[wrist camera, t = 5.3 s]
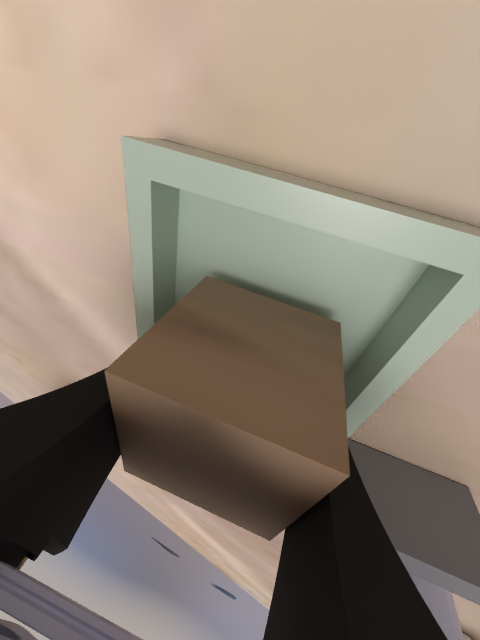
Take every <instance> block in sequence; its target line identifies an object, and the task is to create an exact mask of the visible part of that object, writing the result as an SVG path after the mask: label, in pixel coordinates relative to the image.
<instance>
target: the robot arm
mask: <svg viewBox="0 0 480 640" xmlns="http://www.w3.org/2000/svg"><path fill="white" fill-rule="evenodd" d="M106 369H107V368H106ZM106 369H104V370H102V371H99V372H97V373H95V374H93V375H91V376H89V377H86V378H84V379H82V380H79V381H77V382H75V383H72V384H70V385H67V386H65V387H62V388H60V389H57V390H54V391H52V392H49V393H46V394H44V395H41V396H38V397H35V398H32V399H29V400H26V401H23V402H20V403H16V404H13V405H10V406H7V407H4V408H1V409H0V610H1V611H3V612H5V613H7V614H8V615H10V616H12V617H13V618H15V619H17V620H18V621H20V622H22V623H23V624H25V625H27V626H28V627H30V628H32V629H34V630H35V631H37V632H38V633H40V634H42V635H44V636H45V637H47V638H49V639H50V640H142V639H141V638H139V637H137V636H135V635H133V634H131V633H130V632H128V631H127V630H125V629H123V628H121V627H119V626H118V625H116V624H114V623H112V622H110V621H109V620H107V619H105V618H104V617H102V616H100V615H98V614H96V613H95V612H93V611H91V610H89V609H87V608H86V607H84V606H82V605H80V604H78V603H77V602H75V601H73V600H72V599H70V598H68V597H66V596H64V595H63V594H61V593H59V592H57V591H55V590H53V589H52V588H50V587H48V586H47V585H45V584H43V583H41V582H40V581H38V580H36V579H34V578H33V577H31V576H29V575H27V574H25V573H24V572H22V571H20V570H18V569H17V567H18V565H19V564H20V563H21V561H22V560H23V559H24V557H27V558H29V559H31V560H33V561H35V560H36V559H37V557H38V556H39V555H40V553H41V552H42V550H44V551H46V552H48V553H50V554H52V555H56V554H58V553H60V552H62V551H64V550H65V549H67V548H68V546H69V544H70V543H71V541H72V539H73V537H74V535H75V533H76V531H77V530H78V528H79V526H80V524H81V522H82V520H83V519H84V517H85V515H86V513H87V511H88V509H89V508H90V506H91V504H92V502H93V501H94V499H95V497H96V495H97V494H98V492H99V490H100V488H101V486H102V485H103V483H104V482H105V480H106V478H107V476H108V475H109V473H110V471H111V470H112V468H113V466H114V465H115V463H116V461H117V460H118V458H119V457H120V455H121V451H120V446H119V441H118V436H117V431H116V426H115V421H114V417H113V412H112V407H111V402H110V397H109V392H108V387H107V382H106V377H105V372H104V371H105V370H106ZM348 453H349V469H350V476H349V477H348V478H347V479H346V480H344V481H343V482H342V483H341V484H339V485H338V486H337V487H336V488H334V489H333V490H332V491H331V492H330V493H328V494H327V495H326V496H325V497H323V498H322V499H321V500H320V501H318V502H317V503H316V504H315V505H314V506H312V507H311V508H310V509H309V510H307V511H306V512H305V513H304V514H302V515H301V516H300V517H299V518H297V519H296V520H295V521H294V522H293V523H291V524H290V525H289V526H288V527H286V528H285V534H284V540H283V545H282V550H281V556H280V561H279V567H278V572H277V577H276V582H275V587H274V592H273V597H272V602H271V606H270V611H269V616H268V620H267V625H266V629H265V634H264V638H263V640H464V636H463V633H462V629H461V625H460V622H459V618H458V615H457V611H456V607H455V604H454V600H453V596H452V593H451V592H450V591H448V590H446V589H443V588H441V587H439V586H437V585H435V584H432V583H430V582H428V581H426V580H424V579H421V578H419V577H417V576H415V575H413V574H411V573H408V571H407V569H406V567H405V566H404V564H403V562H402V560H401V559H400V557H399V555H398V553H397V551H396V550H395V548H394V546H393V544H392V542H391V540H390V538H389V536H388V534H387V532H386V530H385V528H384V526H383V524H382V522H381V520H380V518H379V516H378V514H377V512H376V510H375V508H374V506H373V504H372V502H371V499H370V497H369V495H368V493H367V491H366V488H365V486H364V484H363V481H362V479H361V477H360V474H359V472H358V469H357V467H356V464H355V462H354V459H353V457H352V454H351V451H350V448H349V446H348ZM0 640H37V639H36V638H35V637H34V636H33V635H32V634H30V633H29V632H28V631H27V630H26V629H25V628H23V627H22V626H20V625H18V624H16V623H13V622H10V621H6V620H2V619H0Z"/></svg>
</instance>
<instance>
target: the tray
mask: <svg viewBox="0 0 480 640" xmlns="http://www.w3.org/2000/svg"><path fill="white" fill-rule="evenodd" d="M122 149H123V161H124V174H125V186H126V199H127V211H128V223H129V236H130V248H131V261H132V273H133V286H134V298H135V310H136V323H137V335H138V339H139V338H140V337H141V336H142V335H143V334H144V333H146V332H147V331H148V330H149V329H150V328H151V327H152V326H153V325H154V324H155V323H156V322H157V321H158V320H159V319H161V318H162V317H163V316H164V315H165V314H166V313H167V312H168V311H169V310H170V309H171V308H172V307H173V306H175V305H176V304H177V303H178V302H179V301H180V300H181V299H182V298H183V297H184V296H185V295H186V294H187V293H189V292H190V291H191V290H192V289H193V288H194V287H195V286H196V285H197V284H198V283H199V282H200V281H201V280H202V279H204V278H205V277H206V276H208V277H211V278H214V279H217V280H220V281H223V282H226V283H229V284H231V285H234V286H237V287H240V288H243V289H246V290H249V291H251V292H254V293H257V294H260V295H263V296H266V297H269V298H271V299H274V300H277V301H280V302H283V303H286V304H289V305H291V306H294V307H297V308H300V309H303V310H306V311H309V312H312V313H314V314H317V315H320V316H323V317H326V318H329V319H332V320H334V321H337V322H340V323H341V339H342V355H343V372H344V388H345V404H346V420H347V437H348V438H349V437H350V436H351V435H352V434H353V433H354V432H355V431H356V430H357V429H358V428H359V427H360V426H361V425H362V424H363V423H364V422H365V421H366V420H367V419H368V418H369V417H370V416H371V415H372V414H373V413H374V412H375V411H376V410H377V409H378V408H379V407H380V406H381V405H382V404H383V403H384V402H385V401H386V400H387V399H388V398H389V397H390V396H391V395H392V394H393V393H394V392H395V391H396V390H397V389H398V388H399V387H400V386H401V385H402V384H403V383H404V382H405V381H406V380H407V379H408V378H409V377H410V376H411V375H412V374H413V373H414V372H415V371H416V370H417V369H418V368H419V367H420V366H421V365H422V364H424V363H425V362H426V361H427V360H428V359H429V358H430V357H431V356H432V355H433V354H434V353H435V352H436V351H437V350H438V349H439V348H440V347H441V346H442V345H443V344H444V343H445V342H446V341H447V340H448V339H449V338H450V337H451V336H452V335H453V334H454V333H455V332H456V331H457V330H458V329H459V328H460V327H461V326H462V325H463V324H464V323H465V322H466V321H467V320H468V319H469V318H470V317H471V316H472V315H473V314H474V313H475V312H476V311H477V310H478V309H479V308H480V227H478V226H474V225H471V224H467V223H464V222H460V221H456V220H453V219H449V218H446V217H442V216H438V215H435V214H431V213H428V212H424V211H420V210H417V209H413V208H410V207H406V206H402V205H399V204H395V203H392V202H388V201H384V200H381V199H377V198H373V197H370V196H366V195H363V194H359V193H355V192H352V191H348V190H345V189H341V188H337V187H334V186H330V185H327V184H323V183H319V182H316V181H312V180H309V179H305V178H301V177H298V176H294V175H291V174H287V173H283V172H280V171H276V170H273V169H269V168H265V167H262V166H258V165H255V164H251V163H247V162H244V161H240V160H237V159H233V158H229V157H226V156H222V155H219V154H215V153H211V152H208V151H204V150H201V149H197V148H193V147H190V146H186V145H183V144H179V143H175V142H172V141H168V140H164V139H153V138H142V137H131V136H122Z"/></svg>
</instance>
